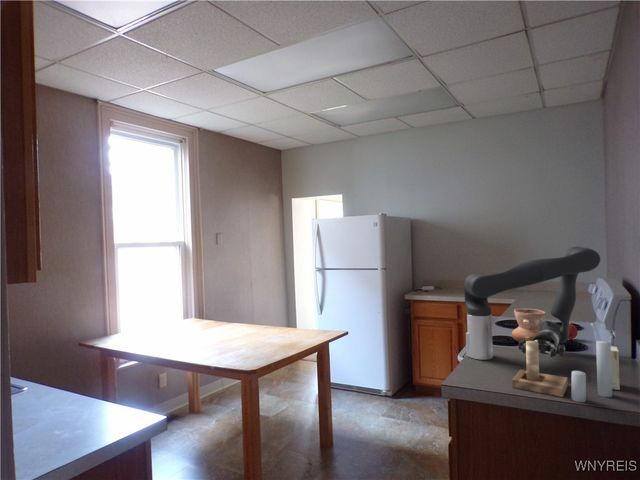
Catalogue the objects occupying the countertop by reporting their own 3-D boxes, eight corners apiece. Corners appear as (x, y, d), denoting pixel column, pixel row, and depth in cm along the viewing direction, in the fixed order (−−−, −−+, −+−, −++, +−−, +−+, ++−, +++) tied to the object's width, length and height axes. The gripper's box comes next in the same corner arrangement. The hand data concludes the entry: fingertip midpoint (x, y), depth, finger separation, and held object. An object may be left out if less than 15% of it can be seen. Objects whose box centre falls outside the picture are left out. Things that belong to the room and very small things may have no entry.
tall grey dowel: (597, 395, 122) (595, 343, 121) (598, 391, 124) (596, 340, 124) (611, 398, 119) (610, 344, 119) (612, 394, 122) (610, 341, 122)
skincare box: (620, 390, 124) (619, 351, 124) (603, 388, 127) (602, 349, 127) (618, 383, 130) (617, 346, 130) (601, 381, 132) (600, 344, 132)
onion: (580, 341, 177) (579, 323, 177) (565, 341, 178) (565, 323, 178) (574, 338, 183) (574, 320, 183) (560, 338, 184) (560, 320, 184)
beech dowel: (525, 385, 131) (524, 343, 131) (528, 382, 134) (527, 340, 134) (538, 388, 129) (537, 344, 129) (540, 384, 132) (539, 342, 131)
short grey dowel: (570, 399, 119) (570, 373, 119) (572, 395, 122) (573, 369, 121) (584, 403, 117) (584, 376, 116) (586, 399, 119) (587, 372, 119)
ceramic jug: (545, 349, 168) (544, 315, 168) (507, 344, 177) (507, 312, 177) (551, 340, 182) (551, 308, 182) (516, 335, 191) (516, 305, 191)
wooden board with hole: (512, 387, 130) (512, 379, 130) (520, 376, 139) (520, 369, 139) (562, 397, 121) (562, 388, 121) (567, 385, 130) (567, 377, 130)
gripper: (525, 329, 155) (514, 338, 143) (568, 333, 146) (561, 344, 134) (525, 348, 155) (515, 359, 143) (568, 354, 146) (561, 367, 134)
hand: (537, 352), depth 138 cm, fingers open, 8 cm apart
